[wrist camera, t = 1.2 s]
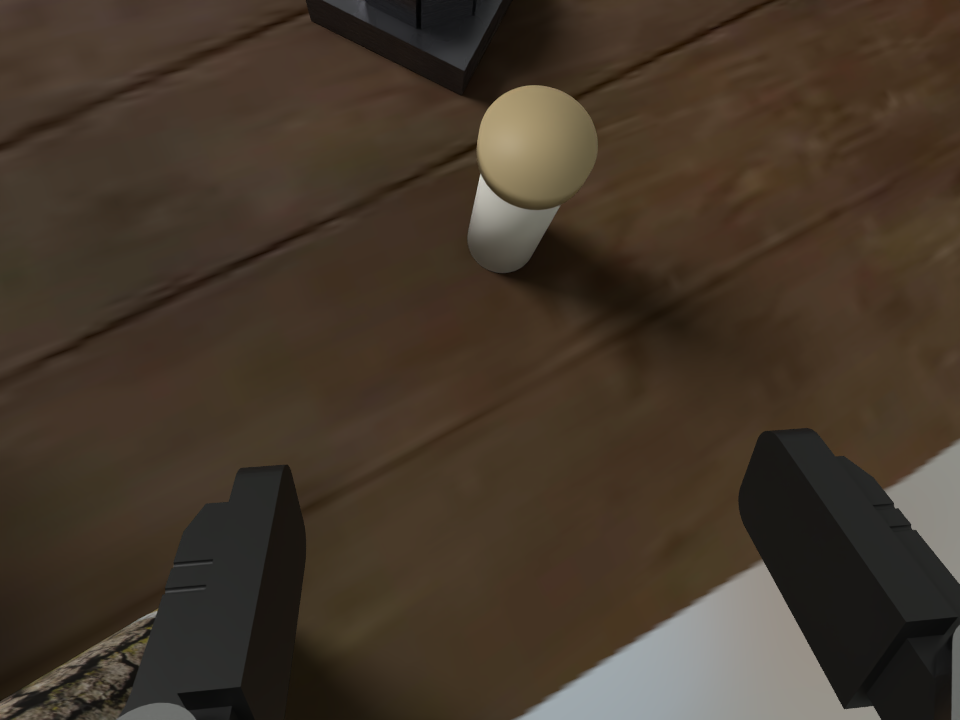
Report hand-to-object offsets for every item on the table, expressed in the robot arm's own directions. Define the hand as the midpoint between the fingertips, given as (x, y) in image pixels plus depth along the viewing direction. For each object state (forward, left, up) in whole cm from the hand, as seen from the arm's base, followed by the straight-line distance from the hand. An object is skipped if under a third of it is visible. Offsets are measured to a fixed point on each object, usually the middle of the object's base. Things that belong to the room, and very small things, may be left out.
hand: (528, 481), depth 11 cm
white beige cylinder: (-3, +13, -25) cm, 28 cm away
